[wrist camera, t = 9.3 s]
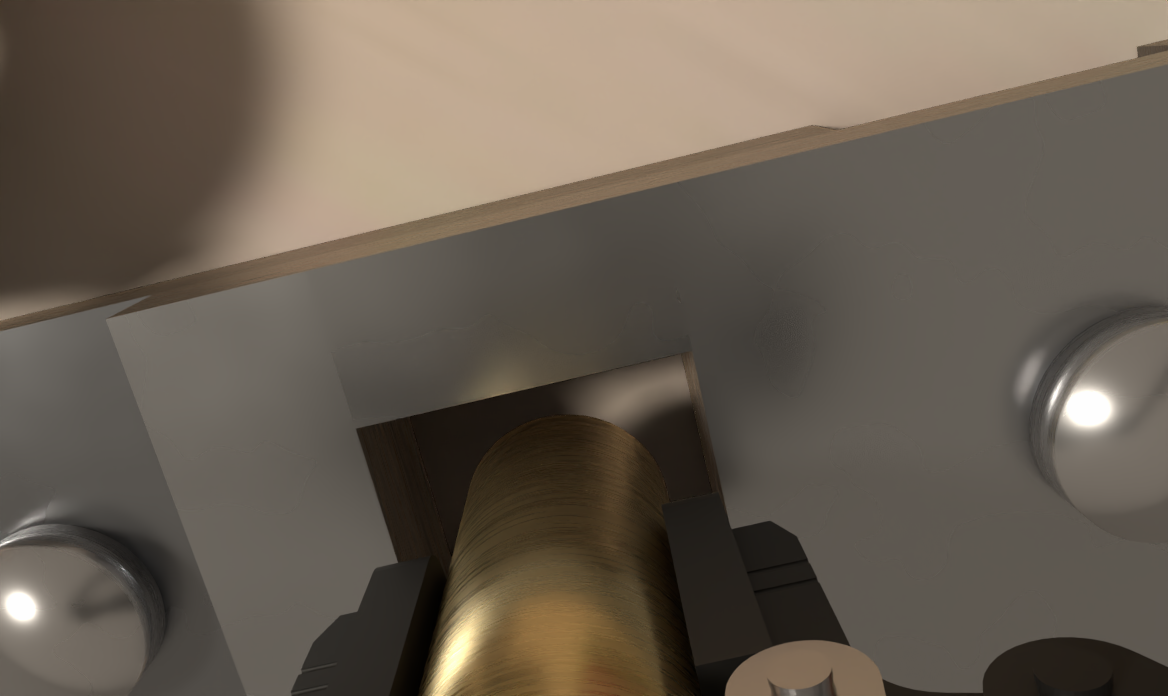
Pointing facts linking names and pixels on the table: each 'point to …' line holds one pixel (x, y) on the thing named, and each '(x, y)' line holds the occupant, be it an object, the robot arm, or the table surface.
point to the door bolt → (625, 337)
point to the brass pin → (562, 573)
